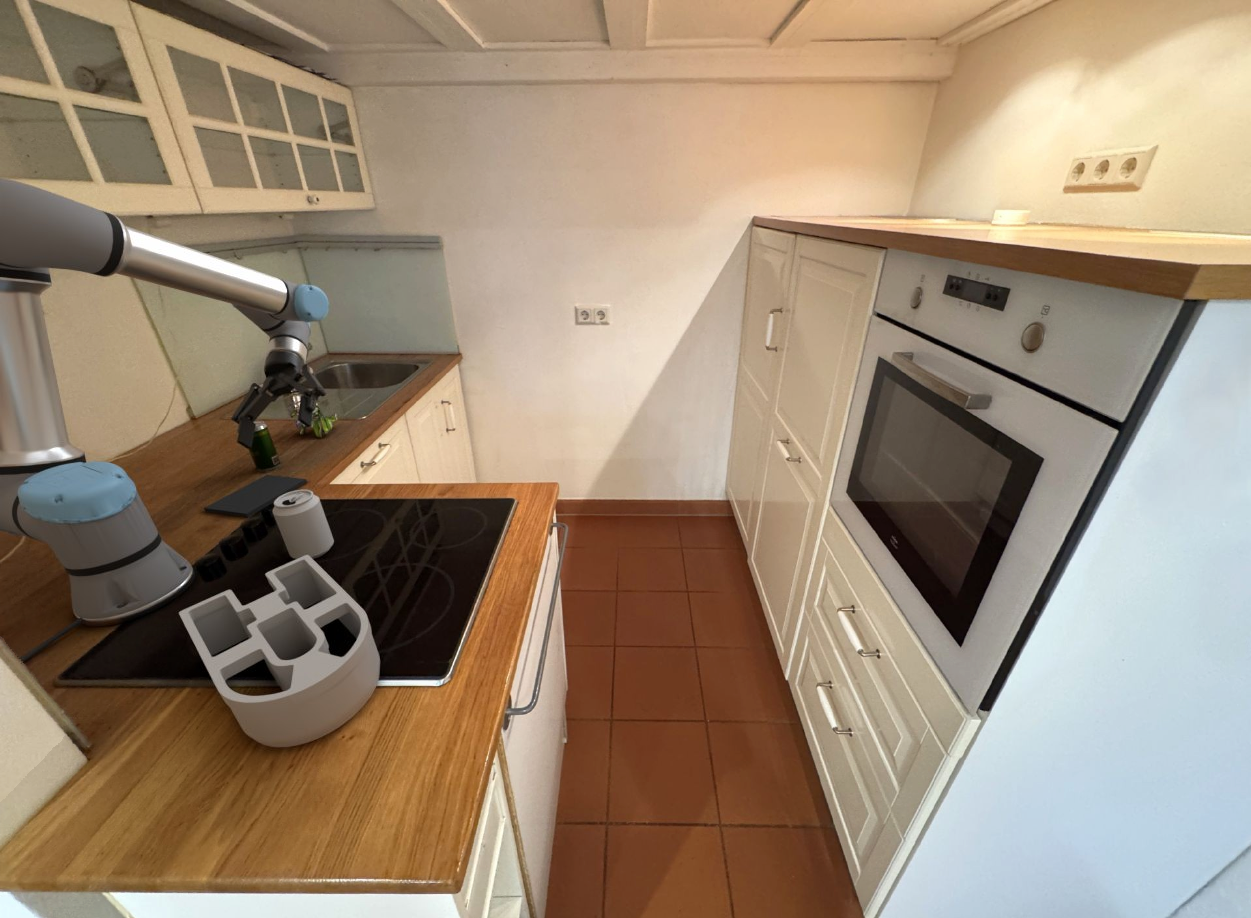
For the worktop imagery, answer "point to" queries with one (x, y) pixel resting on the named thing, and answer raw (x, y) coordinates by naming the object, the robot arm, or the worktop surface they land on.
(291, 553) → the can
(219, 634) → the desk organizer caddy
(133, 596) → the robot arm
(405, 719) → the worktop surface
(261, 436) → the beer can
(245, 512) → the mat
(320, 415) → the purple flowering plant
